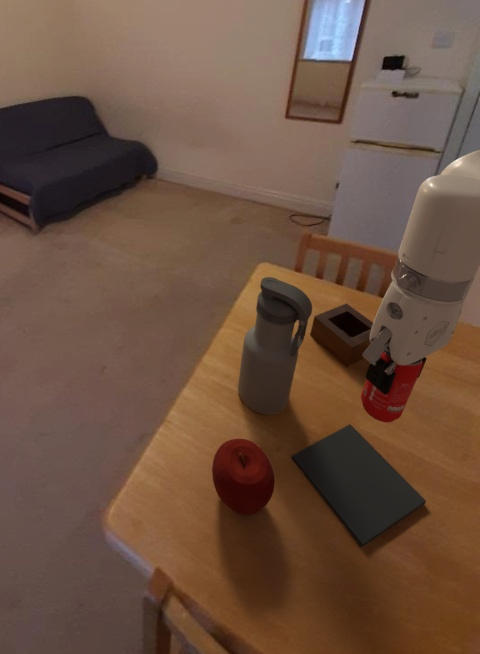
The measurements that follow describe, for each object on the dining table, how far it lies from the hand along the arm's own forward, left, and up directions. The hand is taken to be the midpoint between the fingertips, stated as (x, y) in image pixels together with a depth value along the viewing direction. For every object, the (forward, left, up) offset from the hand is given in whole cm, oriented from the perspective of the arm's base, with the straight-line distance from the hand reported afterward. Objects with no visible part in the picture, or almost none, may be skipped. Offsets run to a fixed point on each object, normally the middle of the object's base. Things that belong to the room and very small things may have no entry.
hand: (391, 377), depth 57 cm
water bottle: (+3, -19, -25) cm, 32 cm away
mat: (0, 0, -25) cm, 25 cm away
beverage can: (0, 0, -7) cm, 7 cm away
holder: (-23, -22, -25) cm, 40 cm away
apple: (+19, -6, -25) cm, 32 cm away
